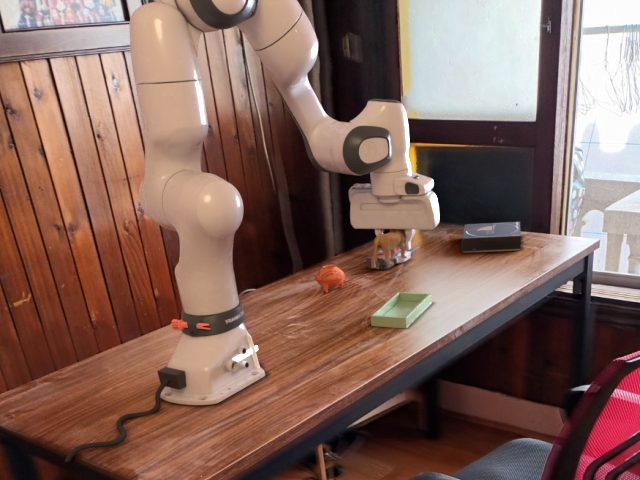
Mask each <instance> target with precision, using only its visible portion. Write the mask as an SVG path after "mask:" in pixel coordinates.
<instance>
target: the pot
mask: <svg viewBox="0 0 640 480" xmlns="http://www.w3.org/2000/svg"><path fill="white" fill-rule="evenodd" d="M345 279H346V274H345V272H344V271H343V270H341V268H339V267H338V266H337V265H336V264H326V265H322V267H321V268H320V269H319V270H318V271H317V272H316V274H315V275H314V280H315V281H316V282H317V284H319V285H320V286H322V287H323V291H324V292H325V293H328V292H329V288H335V287H337V286H339V288H340V289H342V288H343V287H344V286H343V285H344V281H345Z"/></svg>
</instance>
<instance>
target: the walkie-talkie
mask: <svg viewBox="0 0 640 480" xmlns="http://www.w3.org/2000/svg"><path fill="white" fill-rule="evenodd" d="M420 248H421V247H420V245H417V246H415V247H413V248H411V249H410V250H405V256H407V258H406V259H402V258H401V248H400V247H396V248H395V255H396V258H395V259H391V250H390V254H389V260H390V262H393V263H394V265H396V264H402V263H405V262H406V261H408V260H410V259H411V258H412V257H411V255H412V254H413V253H415V252H417V251H418V250H419V249H420ZM372 256H373V254H372V255H370V256H369V257H367V258H366V264H367V269H370V270H385V271H386V270H388V269H390V268H391V267H392V266H389V265H388V264H387V262H386V261H385V255H384V252H383V251H382V249H380V251H379V253H378V255H377V261H378V265H379V268H378V269H376V268H372V267H371V258H372ZM375 264H376V263H375Z"/></svg>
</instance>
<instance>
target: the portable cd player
mask: <svg viewBox="0 0 640 480" xmlns="http://www.w3.org/2000/svg"><path fill="white" fill-rule="evenodd" d="M521 234H522V232H521V221H506V222H505V221H504V222H486V223H485V222H483V223H468V224H467V223H465V224H464V228H463V232H462V239H461V244H460V250H461V252H462V253H463V254H468V253H488V252H493V253H494V252H513V251H521V245H522V244H521V243H522V241H521V239H522V235H521Z"/></svg>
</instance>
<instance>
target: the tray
mask: <svg viewBox="0 0 640 480" xmlns="http://www.w3.org/2000/svg"><path fill="white" fill-rule="evenodd" d="M432 296H433V295H432V293H427V292H426V293H425V292H409V291H408V292H405V291H397V293H395V294H394V295H392V297H391V298H389V299H387V301H385V303H384V304H382V305H381V306H380V307H379V308H378V309H377V310H376V311H375V312H373V313H372V314H371V315H370V324H371V327H380V328H392V329H393V328H395V329H396V328H397V329H408V328H409V327H410V326H411V325H412V324H413V323H414V322H415V321H416V320H417V319H418V318H419V317H420V316H421V315H422V314H423V313H424V312H425V311H426V310H427V309H428V308H429V307H430V306H432V304H433V299H432Z"/></svg>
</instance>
